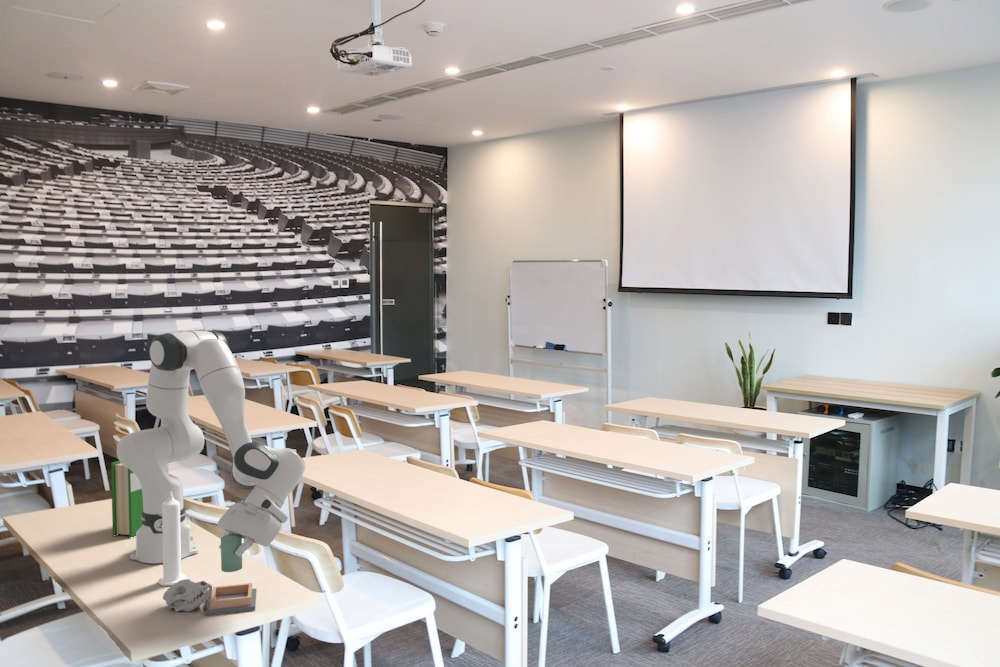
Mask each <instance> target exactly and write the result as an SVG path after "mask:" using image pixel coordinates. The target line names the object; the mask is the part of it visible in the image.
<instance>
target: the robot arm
mask: <svg viewBox="0 0 1000 667" xmlns="http://www.w3.org/2000/svg"><path fill="white" fill-rule="evenodd" d="M148 347H149V349H148V356H149V360H150V362H151V365H150V370H149V375H148V383H147V392H146V401H145V405H146V409H147V410H148V412H149V413H150V414H151V415H153V416H155V417H156V418H159V419H160V426H159V427H155V428H146V429H142V430H141V429H140V430H137V431H134V432H131V433H128V434H126V435H124V436H122V437H121V438H120V440H119V441H118V443H117V446H116V456H117V459H118V461H120V462H121V464H122V465H123V466H125V467H126V468H128V469H130V470H131V471H133V472H134V473H135V475H136V476H137V477H138V479H139V481H140V484H141V488H142V496H143V511H142V515H141V519H142V524H143V525H142V526H141V528H139V529H138V531H137V533H136V537H135V538H136V540H135V543H136V544H135V550H134V551H133V552H132V553H131V554H130V555H129V559H130V560H133V561H138V562H141V563H143V564H163V529H162V504H163V503H164V502H165V501H166V500H168V497H169V493H170V491H171V492H172V494H173V497H174V499H175V500H177V501H179V502H180V529H181V560H182V559H184V558H186V557H189V556H193V555H196V554H198V553H199V548H198V546H197V542H196V539H195V537H194V536H193V535H191V526H190V525H189V523H188V522H187V521H186V519H187V518H186V508H185V506H184V484H183V482H182V481H181V479H179V477H177V476H175V475H172V474H170V473H169V472H168V473H169V474H168V473H167V471H166V463H168V464H170V463H176V462H179V461H184V460H188V459H190V458H193V457H195V456H197V455H199V454H201V452H202V451H203V449H204V446H205V435H204V433H203V431H202V429H201V428H200V427H199V426H198V425H196V424H195V423H194V422H193V421H192V420H191V418H190V414H189V410H188V400H189V398H188V397H189V388H190V378H191V377H190V374H191V371H192V370H194V371H195V374H196V377H197V380H198V383H199V385H200V388H201V391H202V393H203V395H204V396H205V399H206V402H208V404H209V406H210V407H211V409H212V411H213V413H214V415H215V416H216V418H217V420H218V422H219V424H220V426H221V429H222V430H223V434H224V438H225V440H226V442H227V446H228V448H229V452H230V455H231V460H232V461H231V462H232V463H231V470H230V473H231V474H230V476H231V479H232V482H234V485H236V486H237V487H239V488H240V489H242V490H245V491H246V490H247V491H250V493H249V494H248V496H247V497H246V498H245V499H241V500H240V501H237V502H235V503H233V504H232V505H231V506H230V507H229V508H227V510H226V511H225V512H224V514H222V516H221V517H220V519H219V520H218V521H217V528H219V530H221V531H223V532H224V534H223V536H226V535H233V534H236V535H241V536H242V541H243V542H242V544H241V545H240V546H239V547H236V548H235V550H234V551H233V553H234V554H235V555H236V556H239V557H240V556H241V555H242V556H243V554H244V553H245V552H246V551H247V550H249V549H250V548H251V547H252V546H253V545H254V544H256V545H260V546H263V547H267V546H270V545H271V543H273V541H274V539H276V537H277V535H278V534H279V532H280V531H281V529H282V526H283V524H284V523H286V522H287V521H288V519H289V516H288V514H287V513H286V512H285V511H284V510H283V509H282V508H283V505H284V504H285V502H286V499H287V497H288V496H289V495H290V494H292V493H293V491H294V490H295V488H296V487H297V485H298V484H299V483H300V481H301V478H302V477H303V475H304V472H305V470H306V464H305V461H304V460H303V458H302V456H301V455H300V454H299V453H298V452H297V451H295V450H293V449H292V448H289V447H288V448H287V447H285V448H278V447H277V448H276V447H272V446H271V447H270V446H268V445H264V444H263V443H262V444H261V443H260V442H257V441H256V442H254V441H253V440H252V437H251V434H250V432H249V429H248V426H247V422H246V417H245V402H246V389H245V383H244V379H243V375H242V371H241V369H240V367H239V364H238V362H237V360H236V358H235V355H234V354H233V353H232V351H231V349H230V348H229V343H228V340H227V338H226V336H225V335H224V334H223V333H221V332H219V331H216V330H186V331H179V332H173V333H170V332H167V333H163V334H162V333H161V334H159V335H156V336H155V337H153V339H152V340H151V341H150V344H149V346H148ZM218 548H219V549H220V550H221V543H220V544H219V546H218Z"/></svg>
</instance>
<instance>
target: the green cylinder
mask: <svg viewBox="0 0 1000 667" xmlns="http://www.w3.org/2000/svg"><path fill="white" fill-rule="evenodd" d="M242 541H243V538H242V536H241V535H236V534H233V535H226V536H224V535H223V536H222V537H221V538H220V544H221V549H220V564H221V566H220V567H221V571H222V572H224V573H235V572H238V571H240V570H241V569H243V554H242V555H241V556H240V557H239V556H236V555H235V554H234V553H233V551H234V550H235V548H236V547H239V546H240V545H241V544H242V543H243V542H242Z"/></svg>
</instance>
